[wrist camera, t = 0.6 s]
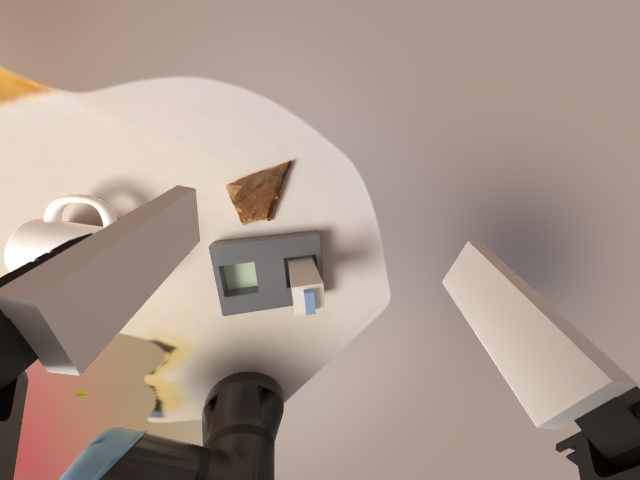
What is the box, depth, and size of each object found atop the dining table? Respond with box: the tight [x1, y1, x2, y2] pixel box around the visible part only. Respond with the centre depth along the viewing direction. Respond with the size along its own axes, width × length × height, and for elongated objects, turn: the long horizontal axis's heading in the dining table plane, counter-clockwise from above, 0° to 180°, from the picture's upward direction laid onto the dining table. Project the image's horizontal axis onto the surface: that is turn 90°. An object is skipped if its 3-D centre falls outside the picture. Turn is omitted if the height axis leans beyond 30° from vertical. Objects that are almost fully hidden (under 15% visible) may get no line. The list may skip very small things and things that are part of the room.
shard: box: [226, 161, 292, 225], centre depth 37 cm, size 11×8×2 cm
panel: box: [209, 231, 323, 316], centre depth 39 cm, size 12×17×3 cm
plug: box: [288, 255, 325, 316], centre depth 34 cm, size 4×4×13 cm
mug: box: [4, 195, 117, 272], centre depth 30 cm, size 12×10×8 cm
